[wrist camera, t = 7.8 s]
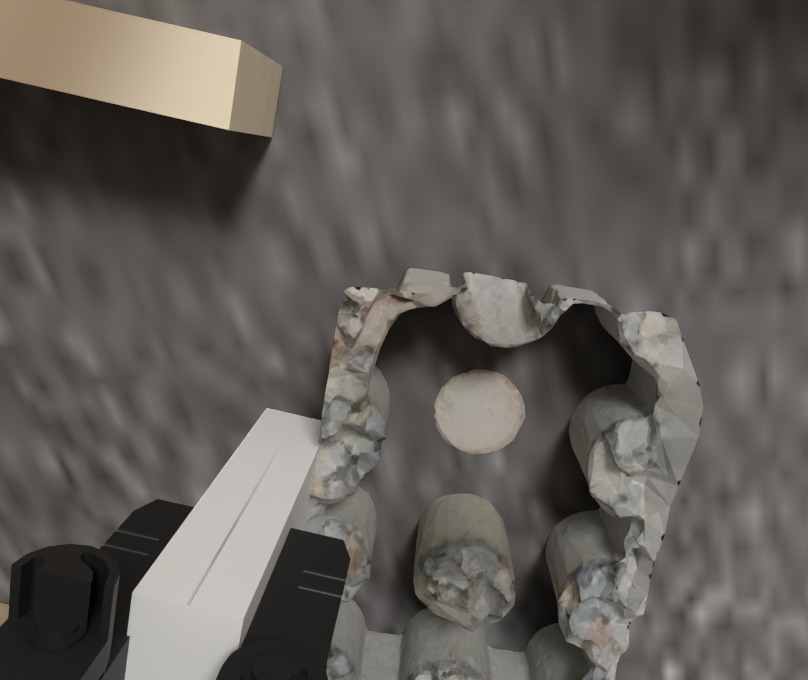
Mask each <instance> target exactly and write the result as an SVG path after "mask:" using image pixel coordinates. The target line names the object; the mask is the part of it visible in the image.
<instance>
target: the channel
mask: <svg viewBox="0 0 808 680" xmlns="http://www.w3.org/2000/svg"><path fill="white" fill-rule="evenodd" d="M282 70H283V66H281V65H279V64H278V63H276V62H275V61H273V60H272V59H270V58H268V57H267V56H265V55H264V54H262V53H260V52H259V51H257V50H256V49H254V48H252V47H251V46H249V45H248V44H246V43H244V42H243V41H241V40H237V39H232V38H228V37H224V36H219V35H215V34H211V33H206V32H202V31H198V30H193V29H189V28H184V27H180V26H176V25H171V24H167V23H163V22H158V21H154V20H150V19H145V18H141V17H137V16H132V15H128V14H123V13H119V12H115V11H110V10H106V9H102V8H97V7H93V6H89V5H84V4H80V3H76V2H71V1H67V0H0V78H4V79H8V80H12V81H17V82H21V83H25V84H30V85H34V86H39V87H43V88H47V89H52V90H56V91H60V92H65V93H69V94H73V95H78V96H82V97H87V98H91V99H95V100H100V101H104V102H108V103H113V104H117V105H121V106H126V107H130V108H135V109H139V110H143V111H148V112H152V113H156V114H161V115H165V116H169V117H174V118H178V119H183V120H187V121H191V122H196V123H200V124H204V125H209V126H213V127H217V128H222V129H226V130H231V131H237V132H243V133H249V134H254V135H260V136H266V137H272V134H273V128H274V121H275V115H276V109H277V102H278V96H279V90H280V83H281V77H282ZM8 615H9V605H8V604H3V603H0V626H1V625H2V624H3V623H4V622H5V621H6V620H7V619H8Z"/></svg>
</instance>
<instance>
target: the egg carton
mask: <svg viewBox="0 0 808 680" xmlns="http://www.w3.org/2000/svg"><path fill="white" fill-rule="evenodd" d="M463 275H464V278H465V280H466V282H465V283H463V284H462V285H461V286H459V287H458V288H456V287H451V283H450V278H449V274H446V273H442V272H437V271H429V270H422V269H414V268H409V269H408V270H407V271H406V274H405V276H404V279H403V280H402V282H401V284H400V286H399V288H398V289H396V288H393V287H392V288H385V289H377V288H363V287H351V288H347V289H346V290H345V291H344V293H345V295H346V297H347V299H348V300H349V301H343V303H342V305H341V307H340V310H339V314H338V320H337V324H336V331H335V338H334V342H333V347H332V354H331V360H330V366H329V375H328V381H327V385H326V391H325V398H324V405H323V411H322V417H321V427H320V434H319V439H318V443H321V444H320V449H319V453H318V458H317V462H316V467H315V472H314V476H313V480H312V484H311V490H310V501H309V507H308V512H307V518H306V523H305V529H304V531H307V532H312V533H316V534H320V535H325V536H329V537H333V538H338V539H342V540H344V542H345V545H346V548H347V550H348V553H349V556H350V558H351V560H350V564H349V569H348V573H347V577H346V582H345V586H344V590H343V595H342V599H341V603H340V608H339V612H338V616H337V621H336V625H335V629H334V633H333V638H332V642H331V646H330V651H329V655H328V659H327V671H326V672H327V676H328V680H615V674H616V667H617V664H618V660H619V657H620V654H622V653H625V651H626V650H627V649H628V646H629V625H630V624H631V622H632V620H633V618H637V617H640V616H642V615H643V614H644V610H645V605H646V600H647V595H648V590H649V584H650V578H651V574H652V570H653V566H654V562H655V559H656V557H657V554H658V551H659V549H660V546H661V543H662V541H663V538H664V535H665V530H666V525H667V520H668V515H669V510H670V506H671V503H672V501H673V499H674V496H675V494H676V491H677V489H678V486H679V484H680V482H681V479H682V477H683V474H684V472H685V469H686V467H687V465H688V462H689V460H690V457H691V455H692V452H693V450H694V448H695V445H696V443H697V440H698V438H699V432H700V426H701V419H702V413H703V403H702V397H701V392H700V386H699V382H698V380H697V377H696V374H695V371H694V368H693V366H692V363H691V360H690V357H689V355H688V352H687V349H686V346H685V343H684V341H683V338H682V335H681V332H680V329H679V326H678V323H677V320H676V319H674V318H671V317H669V316H667V315H665V314H663V313H659V312H652V311H647V312H631V313H628V314H625V315H624V314H620V313H619V312H618V311H617V310H616V309H615V308H614V307H613V306H610V305H608V304H607V303H606V301H605V300H604V299H602V298H600V297H599V296H598V295H597V294H596V293H595V292H593V291H591V290H586V289H579V288H572V287H566V286H563V285H553V286H550V287H549V289H548V291H547V293H546V296H545V298H544V300H543V301H540V300H538V299H536V298H535V297H534V296H532V295H531V294H530V291H529V288H528V285H527V284H526V283H520V282H517V281H514V280H509V279H503V278H499V277H495V276H489V275H484V274H478V273H472V272H465V273H464V274H463ZM450 298H452V307H453V309H454V311H455V313H456V315H457V317H458V319H459V320H460V322H461V323H462V325H463V327H464V328H465V330H466V331H468V332H469V333H470V334H471V335H472V336H473V337H474V338H477V339H479V340H482V341H484V342H485V343H487V344H489V345H490V346H492V347H504V348H511V347H517V346H521V345H524V344H527V343H531V342H533V341H535V340H537V339H539V338H541V337H542V336H544V335H545V334H546V333H547V332H548V331H549V330H550V329H551V328H552V327H554V325H555V323H556V321H557V320H558V318H559V316H560V315H561V314H562V313H564V312H565V311H566V310H567V309H568V308H569V307H570V306H571V305H572V304H577V303H584V304H589V305H594V308H595V313H596V315H597V317H598V319H599V321H600V323H601V325H602V326H603V327H604V328H605V330H606V331H607V332H608V333H610V334H611V335H612V336H613V337H614V338H615V339H616V340H617V341H618V342H619V343H620V345H621V346H622V347H623V348H624V349H625V351H626V352H627V353H628V354H629V355H630V356H631V358H632V359H633V360H632V365H631V370H630V374H629V377H628V380H627V382H626V384H615V385H607V386H604V387H602V388H599V389H597V390H595V391H593V392H591V393H590V394H588V395H587V396H586V397H585V398H584V399H583V400H582V401H581V402H580V403H579V404H578V406H577V407H576V409H575V410H574V412H573V414H572V416H571V418H570V426H569V436H570V441H571V446H572V449H573V451H574V453H575V455H576V457H577V460H578V461H579V463H580V466H581V468H582V471H583V473H584V475H585V477H586V480H587V483H588V486H589V493H590V494H591V496H592V497H593V498H594V499H595V500H596V501H597V502H598V504H599V505H600V506H601V507H600V508H599V510H591V511H582V512H579V513H575V514H573V515H571V516H568V517H566V518H565V519H563V520H562V521H560V522H559V523H558V524H557V525H556V526H555V527H554V528H553V530H552V532H551V533H550V536H549V538H548V540H547V544H546V551H545V554H546V560H547V564H548V567H549V571H550V575H551V579H552V583H553V587H554V591H555V595H556V599H557V606H558V622H559V623H554V624H551V625H549V626H546V627H544V628H542V629H540V630H539V631H538V632H537V633H536V634H535V635H534V636H533V637H532V638H531V640H530V641H529V643H528V645H527V647H526V649H525V650H524V651H523V652H514V651H509V650H500V649H493V648H491V647H489V646H488V645H487V641H486V636H485V632H484V629H483V627H484V626H486V625H488V624H492V623H496V622H499V621H500V620H502V619H503V618H504V616H505V615H506V614H507V613H508V612H509V611H510V609H511V608H512V607H513V606H514V603H515V596H516V595H515V591H514V582H515V577H514V572H513V566H512V560H511V555H510V549H509V544H508V539H507V534H506V530H505V527H504V523H503V520H502V518H501V516H500V515H499V514H498V512H497V511H496V510H495V509H494V508H493V506H492V505H491V504H490V503H489V502H488V501H487V500H486V499H483V498H481V497H478V496H476V495H473V494H460V493H458V494H452V495H446V496H444V497H441V498H439V499H438V500H436V501H435V502H433V503H432V504H431V505H430V506H429V507H428V508H427V509H426V510H425V512H424V513H423V515H422V516H421V518H420V520H419V523H418V531H417V540H416V553H415V564H414V576H413V582H414V589H415V594H416V595H417V597H418V598H419V599H420V600H421V601H422V602H423V603H424V604H425V605H426V606H427V607H428V608H425V609H423V610H421V611H419V612H418V613H417V614H416V615H415V616H413V617H412V619H411V620H410V621H409V623H408V624H407V627H406V629H405V631H404V633H403V634H401V635H393V634H385V633H377V632H372V631H368V629H367V627H366V624H365V620H364V616H363V614H362V612H361V610H360V608H359V607H358V605H357V604H356V602H355V601H353V600H352V598H353V596H354V595H355V594H356V592H357V591H358V590H359V589H360V587H361V586H362V585H363V584H364V583H365V581H366V580H368V579H370V565H371V559H372V553H373V547H374V541H375V536H376V530H377V513H376V509H375V506H374V503H373V501H372V499H371V497H370V495H369V494H368V493H367V492H365V491H364V490H363V489H362V488H361V487H359V483H360V480H361V479H362V477H363V476H364V474H365V473H366V472H368V471H370V470H372V469H373V467H374V466H375V465H376V464H377V463H378V461H379V460H380V459H381V442H382V440H384V439H386V422H387V418H388V414H389V408H390V392H389V390H388V386H387V382H386V380H385V378H384V377H383V375H382V373H381V371H380V370H379V369H378V368H377V367H376V366H375V364H376V360H377V357H378V354H379V350H380V348H381V345H382V343H383V341H384V339H385V337H386V335H387V333H388V330H389V328H390V327H391V325H392V324H393V323H394V322H395V320H396V319H397V318H398V317H399V315H400V314H401V313H403V312H406V311H409V310H412V309H414V308H417V307H433V306H438V305H439V304H441V303H443V302H445V301H447V300H448V299H450ZM434 409H435V414H434V416H433V417H434V418H435V420H436V423H435V425H436V427H437V429H438V430H439V432H440V434H441V436H442V438H443V439H444V440H445V441H446V442H448V443H449V444H450V445H451V446H453V447H454V448H456V449H457V450H459V451H460V452H464V453H467V454H471V455H479V454H489V453H492V452H495V451H498V450H500V449H502V448H504V447H505V446H506V445H508V444H509V443H510V442H512V441H513V440H514V438H515V436H516V434H517V433H518V431H519V429H520V427H521V425H522V423H523V421H524V418H525V406H524V402H523V399H522V396H521V394H520V393H519V391H518V390H517V388H516V387H515V385H514V384H513V383H512V382H511V381H510V380H509V379H508V378H507V377H506V376H504V375H502V374H500V373H498V372H495V371H490V370H483V369H474V370H470V371H469V372H467V373H462V374H459V375H457V376H454V377H452V378H451V379H450V380H449V381H448V382H447V383H446V384H445V385H444V386H443V387H442V388H441V390H440V392H439V395H438V397H437V399H436V401H435V404H434Z"/></svg>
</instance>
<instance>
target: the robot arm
mask: <svg viewBox="0 0 808 680" xmlns="http://www.w3.org/2000/svg"><path fill="white" fill-rule="evenodd" d="M320 427H321V420H317V419H313V418H308V417H304V416H300V415H295V414H291V413H287V412H282V411H278V410H274V409H269V408H266V409H265V411H264V412H263V414H262V415H261V416H260V418H259V419H258V420H257V422H256V423H255V425H254V426H253V427H252V429H251V430H250V431H249V433H248V434H247V436H246V437H245V438H244V440H243V441H242V442H241V444H240V445H239V447H238V448H237V449H236V451H235V452H234V453H233V455H232V456H231V458H230V459H229V460H228V462H227V463H226V464H225V466H224V467H223V469H222V470H221V471H220V473H219V474H218V475H217V477H216V478H215V479H214V481H213V482H212V484H211V485H210V486H209V488H208V489H207V490H206V492H205V493H204V495H203V496H202V497H201V499H200V500H199V501H198V503H197V504H196V506H195V507H190V506H186V505H181V504H177V503H173V502H168V501H164V500H160V499H157V500H155V501H153V502H151V503H149V504H147V505H145V506H143V507H141V508H139V509H137V510H135V511H133V512H132V513H131V515H130V516H129V517H128V518H127V519H126V520H125V521H124V522H123V524H122V525H121V526H120V527H119V528H118V531H117V532H114V534H113V535H112V536H111V537H110V538H109V539H108V540H107V541H106V543H105V546H102V547H101V548H100V549H97V548H94V547H92V546H85V545H75V544H66V545H57V546H49V547H46V548H43V549H40V550H37V551H34V552H31V553H28V554H27V555H25V556H23V557H22V558H20V559H19V560H17V561H16V562H14V563H13V564H12V569H11V584H10V599H9V615H8V619H7V620H6V621H5V622H4V623H3V624H2V625H1V626H0V680H328V676H327V672H326V671H327V659H328V655H329V651H330V646H331V642H332V638H333V633H334V629H335V625H336V621H337V616H338V612H339V608H340V603H341V599H342V595H343V590H344V586H345V582H346V577H347V573H348V569H349V564H350V560H351V558H350V556H349V553H348V550H347V548H346V545H345V542H344V540H342V539H338V538H333V537H329V536H325V535H320V534H316V533H312V532H307V531H304V529H305V523H306V518H307V512H308V507H309V501H310V490H311V484H312V480H313V476H314V472H315V467H316V462H317V458H318V453H319V449H320V444H321V443H318V439H319V434H320Z"/></svg>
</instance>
